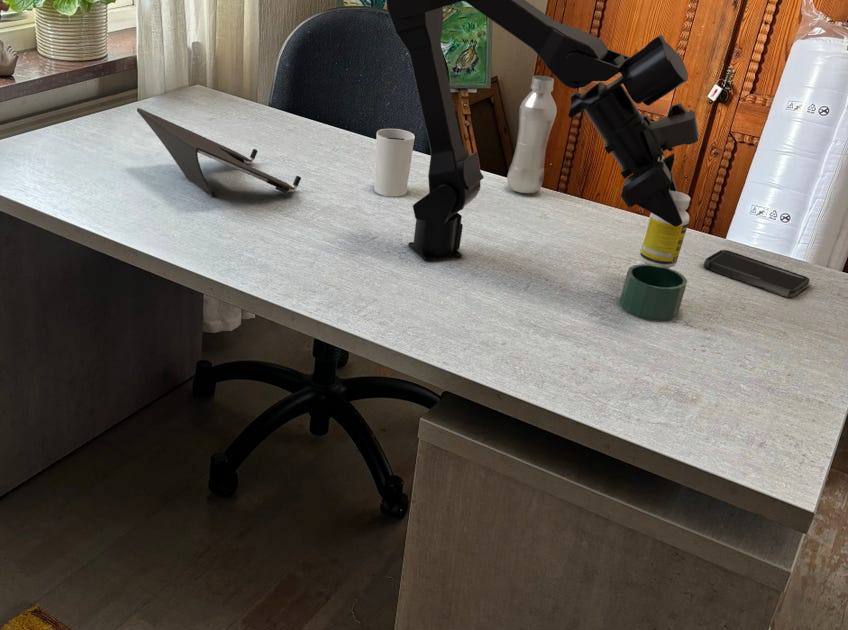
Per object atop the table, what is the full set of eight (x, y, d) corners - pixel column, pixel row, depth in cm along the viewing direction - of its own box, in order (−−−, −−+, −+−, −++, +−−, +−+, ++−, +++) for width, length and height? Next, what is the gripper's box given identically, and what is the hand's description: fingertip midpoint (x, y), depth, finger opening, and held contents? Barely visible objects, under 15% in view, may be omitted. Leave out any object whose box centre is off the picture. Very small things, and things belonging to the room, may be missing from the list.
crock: (643, 324, 138) (652, 291, 135) (608, 298, 144) (616, 267, 141) (689, 317, 141) (699, 285, 138) (653, 292, 147) (662, 261, 144)
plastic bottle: (501, 184, 182) (520, 72, 171) (537, 186, 183) (557, 75, 172) (508, 196, 177) (528, 81, 166) (544, 198, 178) (566, 84, 167)
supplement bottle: (676, 272, 138) (696, 205, 132) (638, 265, 139) (656, 198, 133) (675, 257, 142) (694, 192, 137) (637, 251, 143) (655, 186, 137)
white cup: (401, 184, 178) (407, 128, 172) (413, 196, 173) (420, 140, 167) (366, 184, 176) (371, 128, 170) (378, 198, 171) (383, 140, 165)
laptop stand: (289, 233, 170) (312, 184, 167) (179, 190, 153) (202, 134, 151) (228, 190, 185) (248, 144, 182) (121, 146, 168) (141, 95, 166)
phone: (723, 248, 161) (812, 278, 153) (721, 255, 162) (809, 285, 154) (702, 260, 156) (793, 292, 148) (700, 267, 157) (791, 298, 149)
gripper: (672, 104, 120) (735, 207, 125) (675, 72, 135) (732, 166, 139) (594, 157, 126) (657, 253, 130) (605, 120, 141) (662, 208, 145)
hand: (679, 218), depth 136 cm, fingers closed on supplement bottle, 5 cm apart
